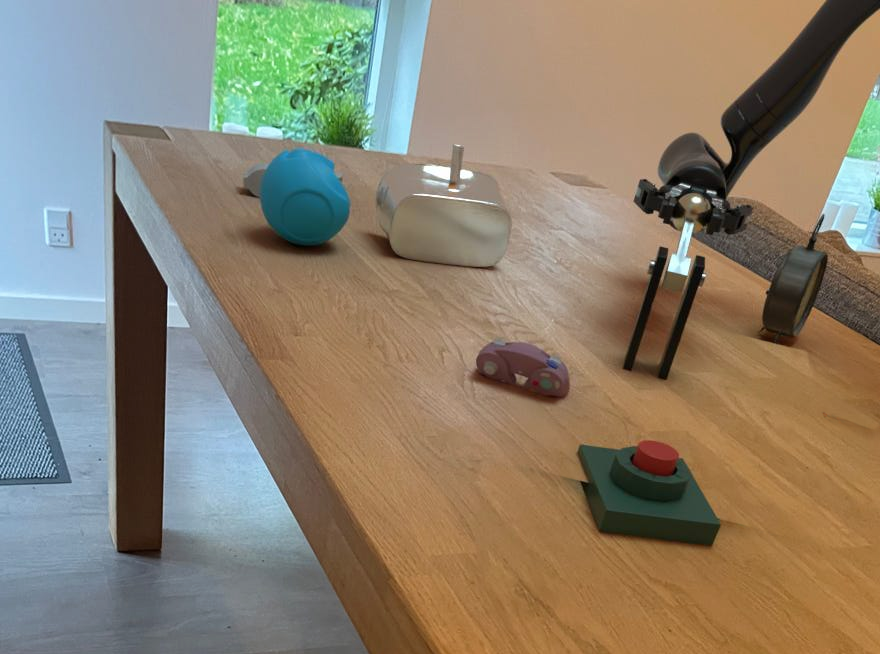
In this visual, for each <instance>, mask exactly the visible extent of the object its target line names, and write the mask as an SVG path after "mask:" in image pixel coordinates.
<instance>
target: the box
mask: <svg viewBox="0 0 880 654" xmlns="http://www.w3.org/2000/svg"><path fill="white" fill-rule="evenodd" d="M637 446H638V445H631V446H625V447H621V448H620V449H617V448H611V447H610V448H609V447H603V446H596V445H587V444H582V443H581V444H579V446H578V449H577V455H578V458H579V460H580V463H581V466H582V469H583V470H584V473H585V476H586V478H587V481H588V482H587V481H583V480H579V483H580V485H581V488H582V491H583V494H584V496H585V499H586V501H587V504H588V506H589V509H590V512H591V514H592V517H593V519H594V522H595V525H596V527H597V530H598V532H599V533H604V534H613V535H619V536H620V535H621V536H629V537H636V538H643V539H644V538H645V539H651V540H652V539H653V540H660V541H667V542H669V541H670V542H676V543H683V544H691V545H701V546H709V547H712V546H713V545H714V542H715V540H716V538H717V535H718V533H719V531H720V528H721V526H722V524H721V522H720V521H719V519H718V517H717V515H716V514H715V512H714V510H713V508H712V506H711V505H710V503H709V501H708V500H707V498H706V496H705V494H704V492H703V491H702V489H701V487H700V486H699V483H698V481H696V478H695V477H694V475H693V473H692V471H691V469H690V467H689V465H688V464H687V463H686V462H685V460H684V458H682V457H679V458H678V461H677V464H676V466H675V469H674V472H673V474H672V475H671V476H658V475H653V474H650V473H648V472H645V471H642V470H640V469H639V468H637V467H636V466H634V465H633V464H632V461H633V458H634V455H635V452H636V449H637Z"/></svg>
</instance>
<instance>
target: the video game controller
mask: <svg viewBox="0 0 880 654" xmlns="http://www.w3.org/2000/svg"><path fill="white" fill-rule="evenodd" d="M475 364H476V368H477V371H478V373H479V374H481V375H484V376H486V377H487V378H489V379H491V380H495V381H499V382H502V383H506V384H508V385H511V386H513V385H515V384H516V383H517V382H518V381H517V379H518V378H517V376H516V375H519V376H521V377H525V378H526V380H525V382H524V384H523V386H522V389H523V390H526V391H530V392H532V393H537V394H540V395H543V396H546V397H549V396H553V397H556V398H562V397H565V396H567V395H568V394H569V392H570V388H571V380H570V376H569V375H570V374H569V371H568V367H567V365H566V364H565V363H564V362H563V360H562V358H561V357H560V356H558V355H556V354H555V355H550V354H549V353H547V352H546V351H544V350H543V349H542V348H540V347H538V346H537V345H534V344H531V343H529V342H524V341H520V342H519V341H512V342H511V341H510V342H506V341H505V340H504V339H502V338H500V337H499V338H495V339H494V341H491V342H488V343H487V344H485V345H484V346H483V347H482V348H481V349H480V350H479V352H478V354H477V356H476V359H475Z"/></svg>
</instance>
